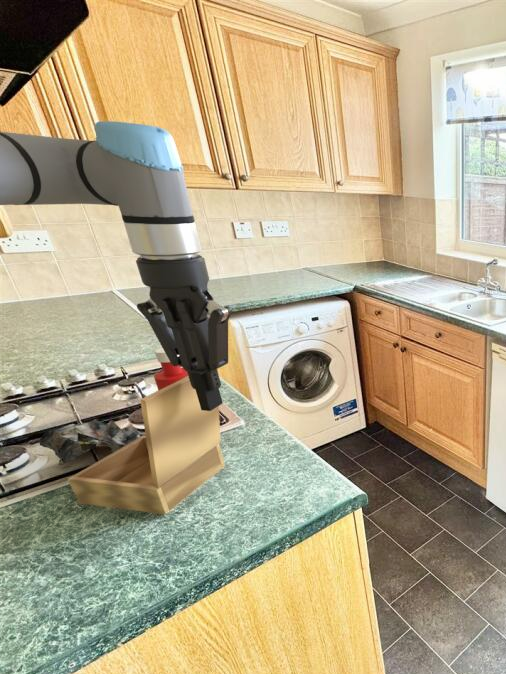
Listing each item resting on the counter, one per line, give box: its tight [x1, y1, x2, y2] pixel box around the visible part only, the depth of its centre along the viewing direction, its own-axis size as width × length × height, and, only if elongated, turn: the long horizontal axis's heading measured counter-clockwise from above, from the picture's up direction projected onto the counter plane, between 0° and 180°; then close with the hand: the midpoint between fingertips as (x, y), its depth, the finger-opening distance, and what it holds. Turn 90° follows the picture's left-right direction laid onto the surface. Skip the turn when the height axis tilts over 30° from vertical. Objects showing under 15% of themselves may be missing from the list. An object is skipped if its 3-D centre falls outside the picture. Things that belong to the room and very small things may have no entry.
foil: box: [39, 418, 146, 465], centre depth 82 cm, size 12×11×15 cm
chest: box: [67, 435, 226, 515], centre depth 75 cm, size 16×14×6 cm
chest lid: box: [140, 376, 222, 488], centre depth 69 cm, size 16×14×1 cm
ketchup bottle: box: [153, 347, 188, 391], centre depth 85 cm, size 6×6×21 cm
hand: (212, 406), depth 67 cm, fingers closed
